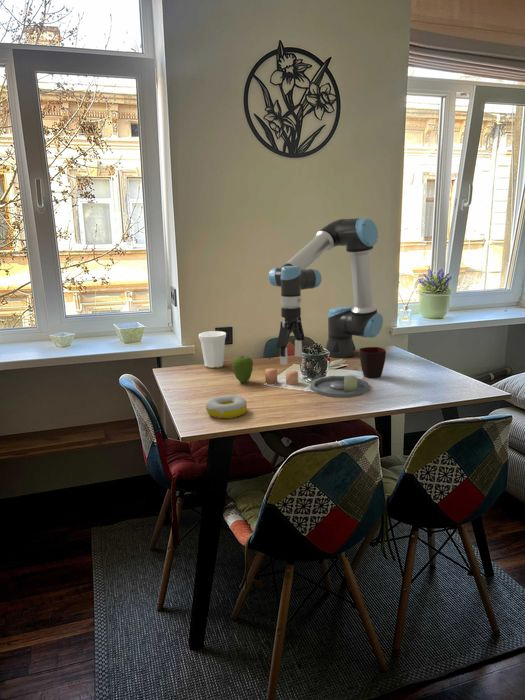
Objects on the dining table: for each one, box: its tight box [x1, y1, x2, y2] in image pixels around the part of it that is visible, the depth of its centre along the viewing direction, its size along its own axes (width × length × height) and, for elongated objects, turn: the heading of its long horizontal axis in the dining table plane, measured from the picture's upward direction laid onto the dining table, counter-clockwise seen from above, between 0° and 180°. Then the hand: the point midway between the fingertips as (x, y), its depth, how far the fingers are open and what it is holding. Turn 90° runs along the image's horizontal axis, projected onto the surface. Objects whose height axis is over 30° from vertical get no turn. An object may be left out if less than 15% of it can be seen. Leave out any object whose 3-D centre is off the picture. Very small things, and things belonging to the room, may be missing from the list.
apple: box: [232, 355, 254, 384], centre depth 206 cm, size 9×8×12 cm
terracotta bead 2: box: [285, 370, 299, 386], centre depth 201 cm, size 5×5×6 cm
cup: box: [198, 330, 227, 368], centre depth 231 cm, size 12×12×15 cm
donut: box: [205, 394, 248, 419], centre depth 174 cm, size 14×14×5 cm
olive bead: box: [344, 375, 358, 393], centre depth 189 cm, size 5×5×6 cm
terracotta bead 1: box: [264, 367, 278, 385], centre depth 205 cm, size 5×5×6 cm
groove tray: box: [309, 375, 370, 398], centre depth 195 cm, size 22×22×2 cm
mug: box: [359, 346, 387, 379], centre depth 209 cm, size 10×14×12 cm
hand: (291, 360), depth 199 cm, fingers open, 13 cm apart
